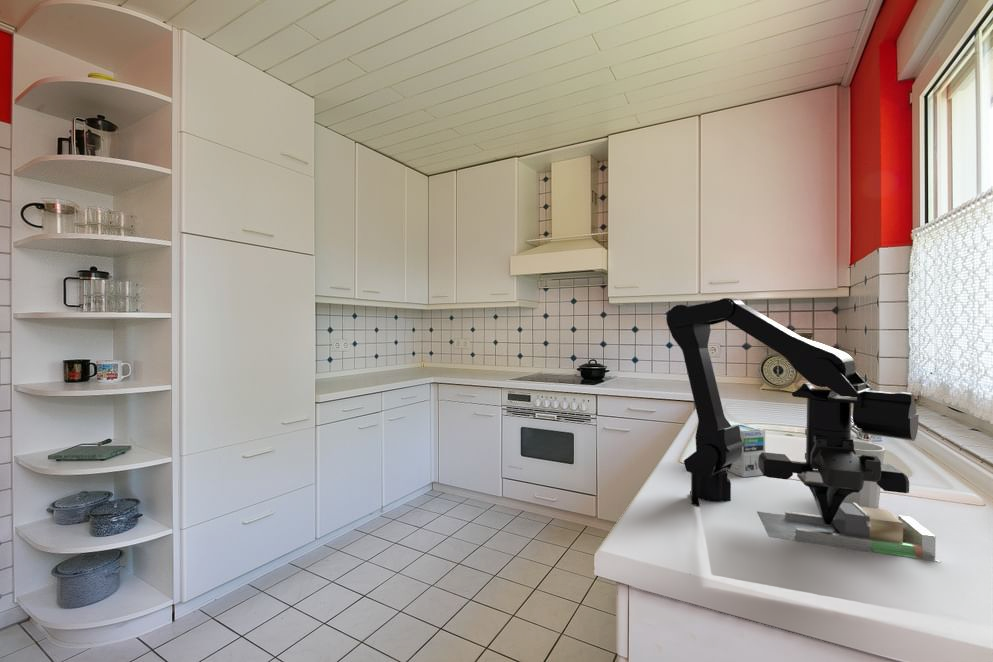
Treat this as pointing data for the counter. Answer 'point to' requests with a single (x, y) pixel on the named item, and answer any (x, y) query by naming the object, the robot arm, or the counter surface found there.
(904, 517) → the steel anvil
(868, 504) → the cup
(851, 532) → the plunger
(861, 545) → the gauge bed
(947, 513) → the counter surface
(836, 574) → the counter surface
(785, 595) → the counter surface
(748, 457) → the light bulb box
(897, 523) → the block
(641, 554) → the counter surface
